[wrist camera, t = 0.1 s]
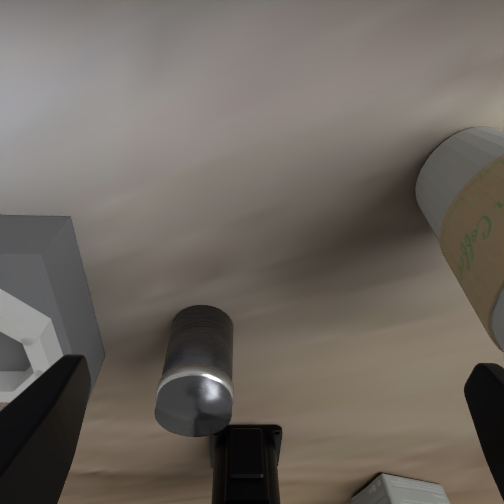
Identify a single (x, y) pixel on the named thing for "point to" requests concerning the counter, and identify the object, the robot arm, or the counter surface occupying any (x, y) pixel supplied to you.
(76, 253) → the camera body
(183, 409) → the lens
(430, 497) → the skincare box
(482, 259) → the coffee cup
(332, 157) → the counter surface
